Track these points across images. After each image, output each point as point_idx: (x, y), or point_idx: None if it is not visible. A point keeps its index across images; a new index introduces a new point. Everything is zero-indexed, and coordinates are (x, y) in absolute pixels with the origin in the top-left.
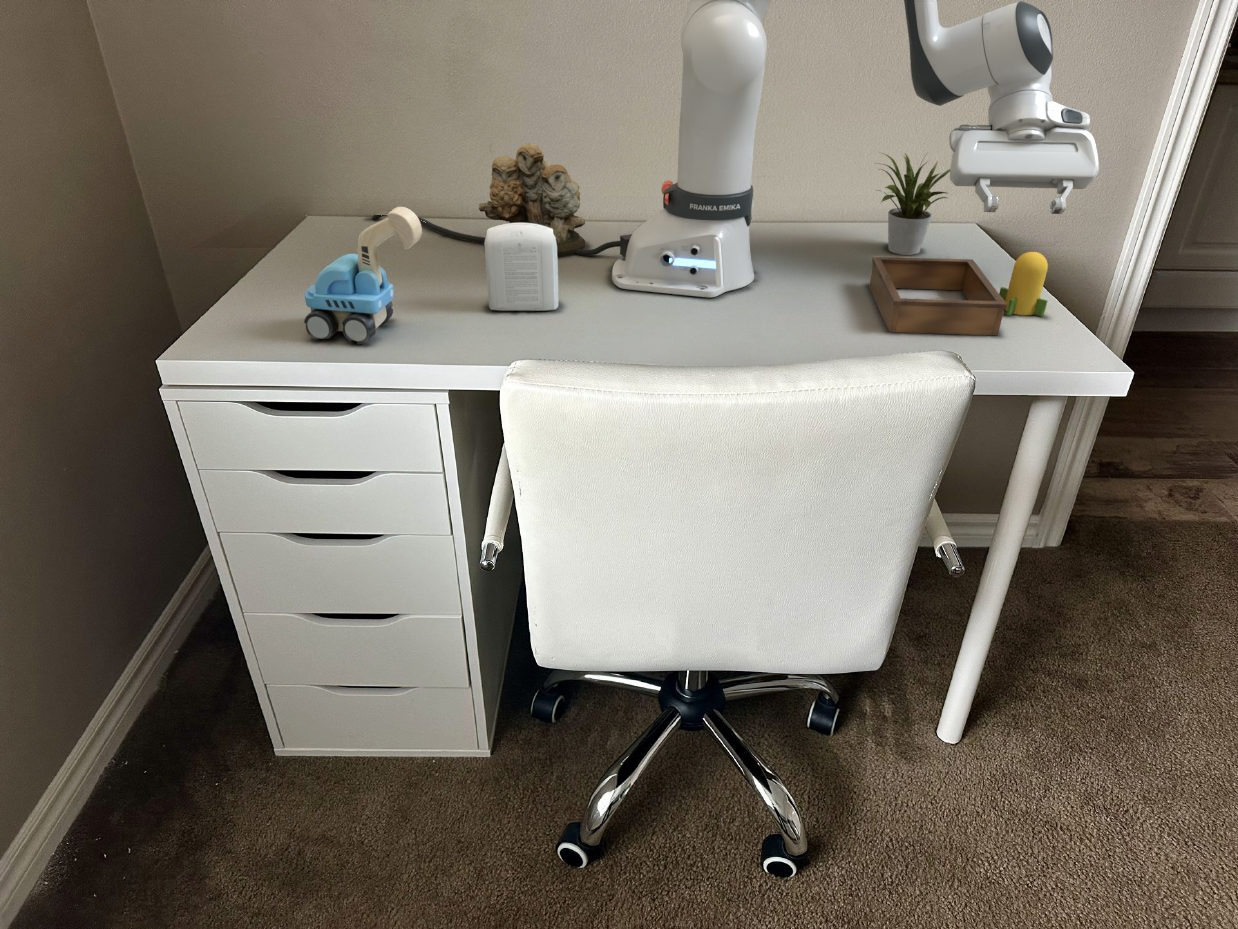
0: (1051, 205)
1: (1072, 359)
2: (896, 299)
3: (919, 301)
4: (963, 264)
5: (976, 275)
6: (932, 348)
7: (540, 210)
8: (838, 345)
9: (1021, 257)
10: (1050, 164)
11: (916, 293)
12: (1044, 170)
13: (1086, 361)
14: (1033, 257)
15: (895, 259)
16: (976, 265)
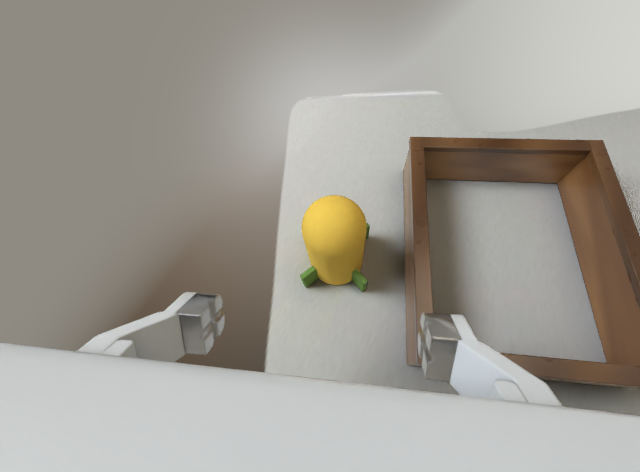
0: (210, 336)
1: (332, 119)
2: (598, 146)
3: (556, 140)
4: None
5: (430, 264)
6: (500, 136)
7: None
8: (635, 138)
9: (358, 218)
10: (114, 416)
11: (514, 340)
12: (184, 380)
13: (318, 116)
14: (340, 199)
15: (627, 366)
16: (419, 317)
